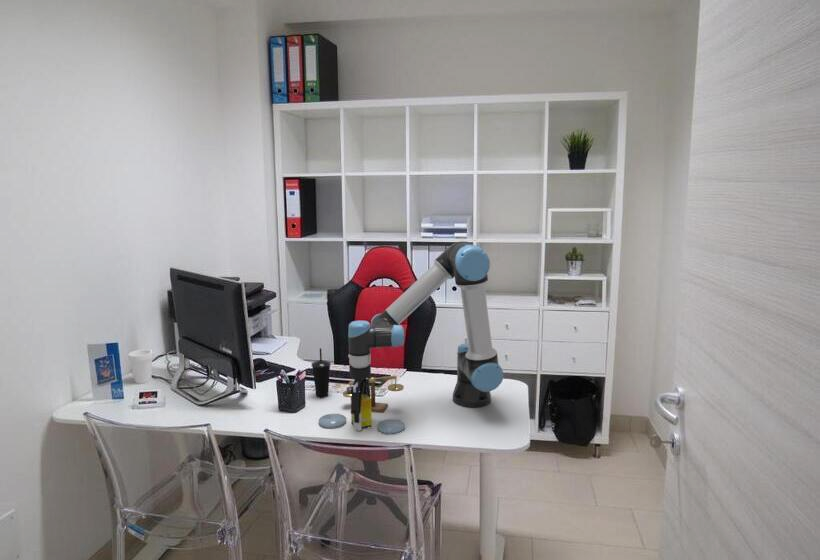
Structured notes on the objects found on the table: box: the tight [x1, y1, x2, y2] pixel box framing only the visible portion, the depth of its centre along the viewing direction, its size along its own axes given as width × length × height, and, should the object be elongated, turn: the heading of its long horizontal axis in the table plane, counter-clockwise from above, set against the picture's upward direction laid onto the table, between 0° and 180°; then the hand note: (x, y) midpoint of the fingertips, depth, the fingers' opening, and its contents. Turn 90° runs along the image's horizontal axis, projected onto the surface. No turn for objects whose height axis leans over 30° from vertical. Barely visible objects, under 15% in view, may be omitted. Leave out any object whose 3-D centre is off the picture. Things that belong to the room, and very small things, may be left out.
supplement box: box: [350, 394, 373, 430], centre depth 207 cm, size 6×6×11 cm
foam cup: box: [128, 349, 154, 385], centre depth 252 cm, size 10×9×13 cm
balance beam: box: [342, 375, 405, 398], centre depth 221 cm, size 24×6×9 cm, turn 77°
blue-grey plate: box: [376, 418, 406, 435], centre depth 206 cm, size 10×10×1 cm
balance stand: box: [370, 382, 389, 414], centre depth 222 cm, size 10×6×11 cm, turn 77°
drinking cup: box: [311, 348, 331, 399], centre depth 234 cm, size 8×8×20 cm
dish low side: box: [318, 413, 347, 430], centre depth 211 cm, size 10×10×1 cm
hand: (361, 424), depth 209 cm, fingers closed on supplement box, 8 cm apart
